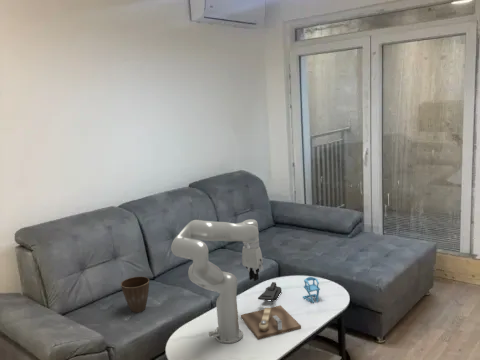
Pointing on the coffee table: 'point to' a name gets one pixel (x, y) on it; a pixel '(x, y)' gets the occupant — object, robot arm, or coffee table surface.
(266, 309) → the link
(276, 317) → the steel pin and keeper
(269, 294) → the zipper pull
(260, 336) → the walnut board
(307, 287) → the chair
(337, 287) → the coffee table surface
